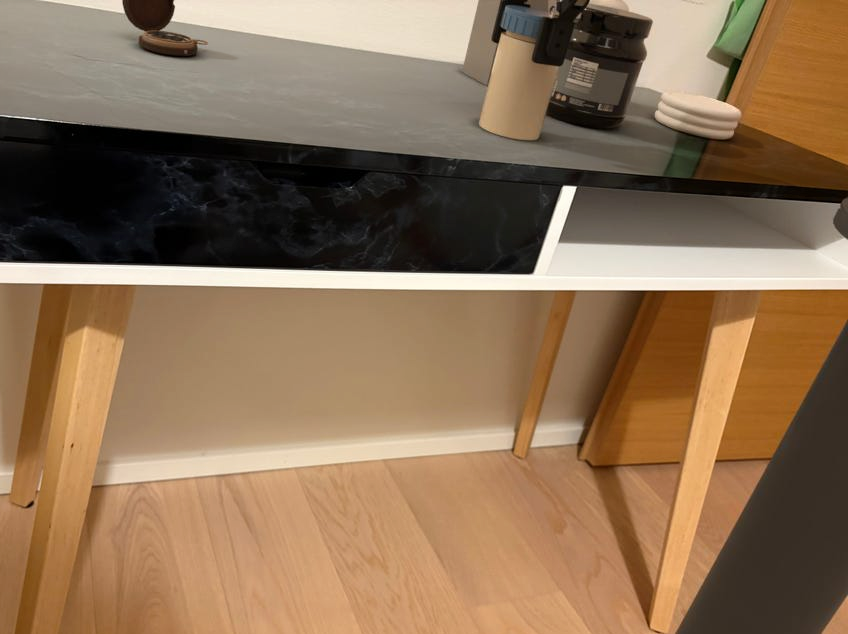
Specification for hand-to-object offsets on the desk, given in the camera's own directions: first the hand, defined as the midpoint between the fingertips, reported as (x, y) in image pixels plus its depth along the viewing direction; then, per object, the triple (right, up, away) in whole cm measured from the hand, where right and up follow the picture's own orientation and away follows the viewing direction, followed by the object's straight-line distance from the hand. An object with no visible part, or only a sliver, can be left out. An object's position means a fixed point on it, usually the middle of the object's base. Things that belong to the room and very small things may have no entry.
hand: (525, 52), depth 79 cm
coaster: (+26, -1, +24) cm, 36 cm away
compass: (-37, +4, +9) cm, 38 cm away
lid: (+1, +3, -1) cm, 3 cm away
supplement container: (+10, -1, +17) cm, 19 cm away
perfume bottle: (+1, +7, +28) cm, 29 cm away
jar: (-1, -6, +4) cm, 8 cm away
